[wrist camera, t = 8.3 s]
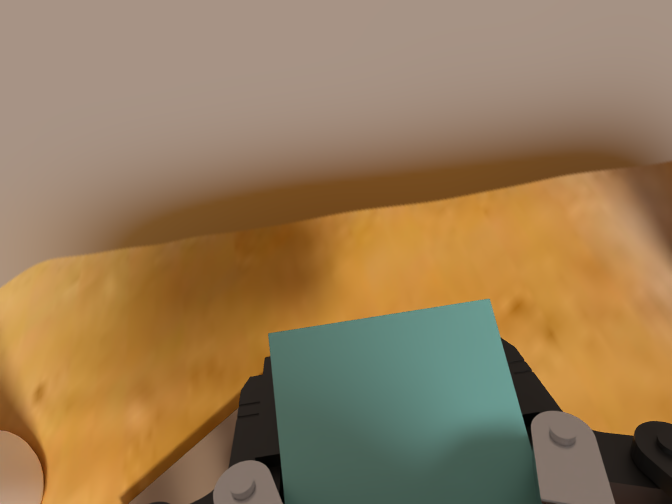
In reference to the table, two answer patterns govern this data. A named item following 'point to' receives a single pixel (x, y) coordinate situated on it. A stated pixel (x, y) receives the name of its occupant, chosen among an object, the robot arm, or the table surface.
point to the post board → (194, 469)
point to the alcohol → (19, 471)
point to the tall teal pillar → (400, 411)
